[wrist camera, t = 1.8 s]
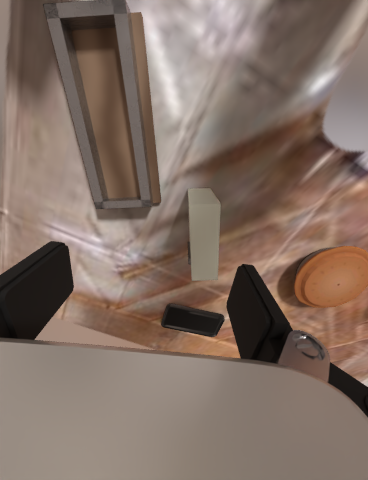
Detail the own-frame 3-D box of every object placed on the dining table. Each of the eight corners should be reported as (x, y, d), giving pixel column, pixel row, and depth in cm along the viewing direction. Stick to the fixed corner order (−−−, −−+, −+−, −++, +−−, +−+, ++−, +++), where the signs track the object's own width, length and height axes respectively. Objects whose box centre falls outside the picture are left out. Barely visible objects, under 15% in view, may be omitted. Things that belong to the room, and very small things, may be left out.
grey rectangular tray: (142, 17, 24) (136, -3, 21) (161, 201, 34) (158, 206, 31) (51, 23, 24) (31, 4, 21) (97, 204, 35) (88, 209, 32)
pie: (298, 236, 38) (314, 248, 33) (373, 240, 38) (398, 252, 34) (277, 295, 44) (288, 311, 40) (341, 298, 45) (358, 314, 40)
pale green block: (209, 187, 34) (220, 203, 24) (209, 246, 39) (217, 279, 29) (185, 188, 34) (185, 205, 24) (188, 247, 39) (189, 280, 29)
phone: (215, 337, 50) (160, 326, 48) (214, 334, 51) (160, 323, 49) (226, 317, 46) (167, 304, 45) (225, 313, 47) (168, 301, 46)
